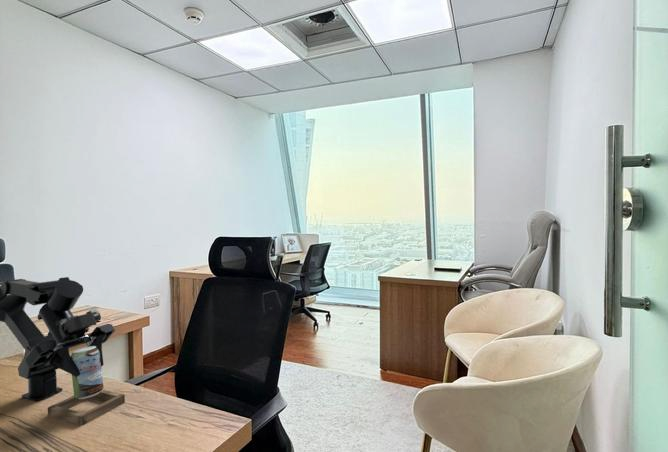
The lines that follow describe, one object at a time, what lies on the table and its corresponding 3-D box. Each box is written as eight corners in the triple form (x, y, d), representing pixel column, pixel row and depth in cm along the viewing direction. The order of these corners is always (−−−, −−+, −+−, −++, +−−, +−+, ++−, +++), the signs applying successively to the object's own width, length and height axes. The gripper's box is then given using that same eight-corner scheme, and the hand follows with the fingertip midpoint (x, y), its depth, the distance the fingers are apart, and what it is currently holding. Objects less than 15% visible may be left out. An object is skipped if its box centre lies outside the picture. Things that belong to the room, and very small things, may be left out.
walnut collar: (47, 415, 84) (47, 407, 84) (92, 394, 95) (92, 387, 95) (81, 425, 80) (81, 416, 80) (124, 402, 90) (124, 394, 90)
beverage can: (88, 403, 84) (87, 354, 83) (63, 400, 85) (62, 351, 85) (110, 390, 90) (109, 344, 90) (86, 387, 91) (85, 342, 91)
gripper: (33, 310, 80) (66, 366, 76) (110, 294, 97) (140, 338, 94) (12, 340, 82) (42, 395, 79) (90, 319, 100) (118, 363, 96)
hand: (90, 370), depth 87 cm, fingers closed on beverage can, 5 cm apart
